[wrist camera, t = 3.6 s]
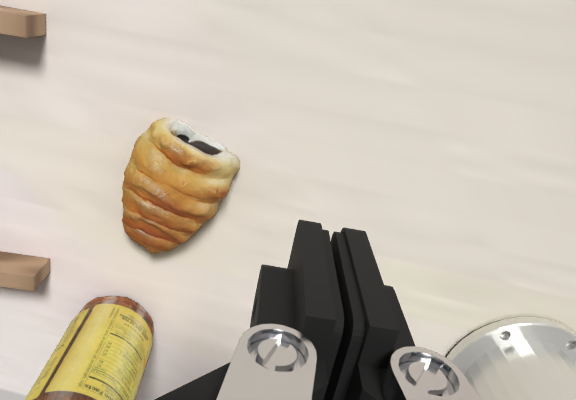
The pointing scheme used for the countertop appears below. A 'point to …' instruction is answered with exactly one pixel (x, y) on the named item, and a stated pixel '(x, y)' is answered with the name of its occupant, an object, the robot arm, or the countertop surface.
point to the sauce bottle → (99, 354)
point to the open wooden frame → (3, 265)
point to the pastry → (173, 184)
